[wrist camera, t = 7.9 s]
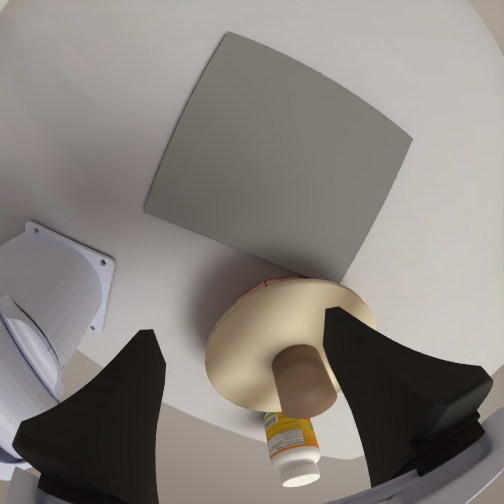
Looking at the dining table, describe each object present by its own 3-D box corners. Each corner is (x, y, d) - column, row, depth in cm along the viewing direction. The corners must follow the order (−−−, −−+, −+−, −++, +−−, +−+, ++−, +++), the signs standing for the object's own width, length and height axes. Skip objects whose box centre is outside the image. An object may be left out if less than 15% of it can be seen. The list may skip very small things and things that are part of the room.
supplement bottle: (307, 419, 29) (326, 481, 20) (266, 428, 29) (277, 492, 20) (306, 397, 27) (328, 467, 18) (260, 407, 27) (272, 480, 18)
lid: (182, 385, 19) (178, 434, 15) (255, 247, 16) (268, 287, 11) (313, 412, 23) (326, 450, 18) (400, 310, 19) (432, 346, 14)
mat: (145, 210, 18) (143, 211, 18) (228, 33, 14) (228, 31, 13) (334, 285, 22) (336, 288, 21) (409, 138, 18) (412, 138, 17)
